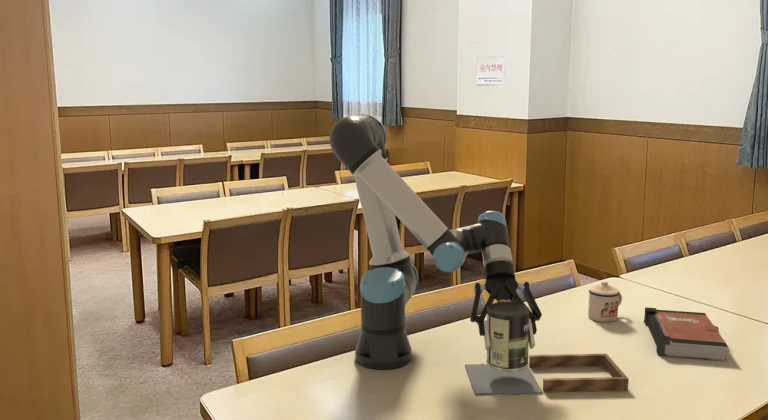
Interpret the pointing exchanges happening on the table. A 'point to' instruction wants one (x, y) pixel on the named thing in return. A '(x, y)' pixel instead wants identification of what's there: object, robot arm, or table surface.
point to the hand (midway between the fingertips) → (510, 347)
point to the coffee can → (508, 336)
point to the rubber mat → (501, 381)
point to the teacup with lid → (604, 302)
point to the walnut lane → (580, 384)
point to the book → (685, 335)
